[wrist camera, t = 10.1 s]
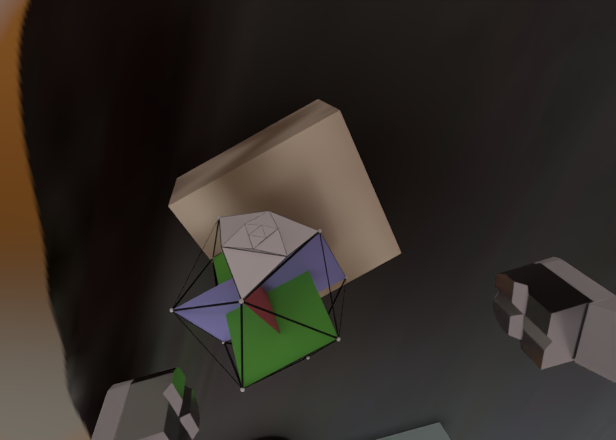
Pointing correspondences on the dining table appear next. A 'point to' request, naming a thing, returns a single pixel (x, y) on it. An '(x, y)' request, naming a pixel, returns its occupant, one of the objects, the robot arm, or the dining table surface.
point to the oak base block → (293, 189)
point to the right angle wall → (421, 434)
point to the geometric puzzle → (267, 294)
